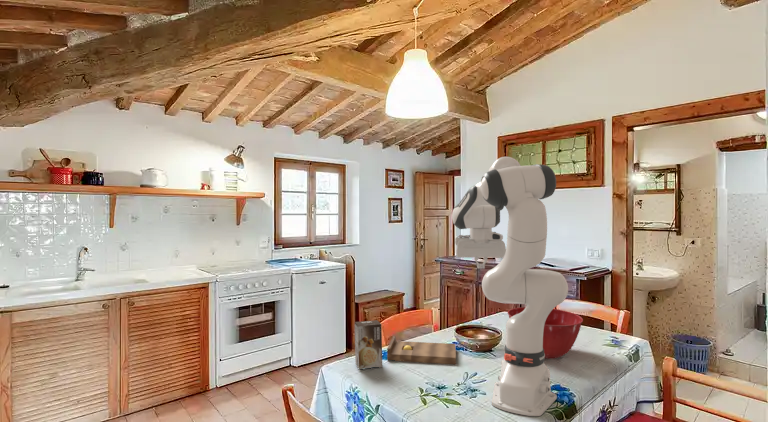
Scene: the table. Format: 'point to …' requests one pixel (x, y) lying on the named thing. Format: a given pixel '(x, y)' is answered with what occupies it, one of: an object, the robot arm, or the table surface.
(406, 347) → the ball
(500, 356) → the table surface
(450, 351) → the tray
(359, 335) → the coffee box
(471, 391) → the table surface
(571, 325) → the mixing bowl
